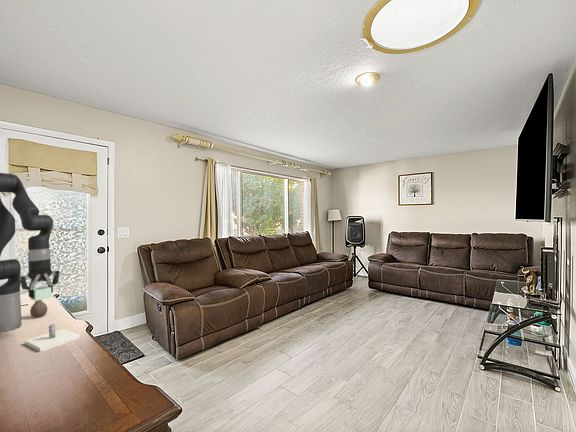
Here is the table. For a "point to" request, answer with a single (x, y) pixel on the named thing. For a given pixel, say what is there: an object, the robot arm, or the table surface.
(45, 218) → the robot arm
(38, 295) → the collar
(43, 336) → the plate
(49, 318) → the table surface
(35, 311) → the vase
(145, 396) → the table surface
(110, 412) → the table surface
